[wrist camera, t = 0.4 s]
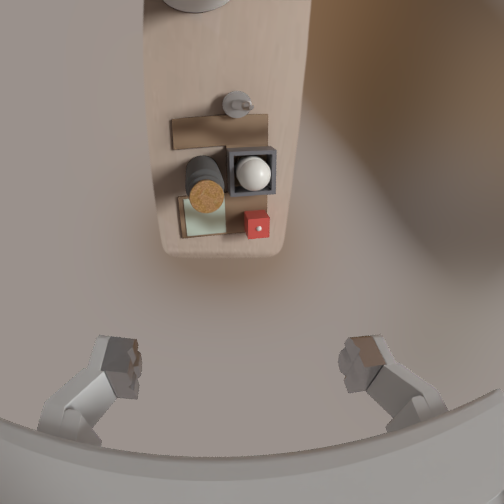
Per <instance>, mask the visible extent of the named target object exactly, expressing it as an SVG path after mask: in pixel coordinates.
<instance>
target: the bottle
mask: <svg viewBox="0 0 504 504" xmlns="http://www.w3.org/2000/svg"><path fill="white" fill-rule="evenodd" d="M185 186H186V193H187V195H188V197H189V200H190V203H191V205H192V207H193V208H194V209H195V210H196V211H198V212H201V213H212V212H214V211H216V210H217V209H219V208H220V206H221V205H222V203H223V200H224V181H223V178H222V175H221V173H220V170H219V168H218V166H217V164H216V162H215V161H214V160H213V159H212V158H210V157H208V156H197V157H195V158H193V159H192V160H191V161H190V162H189V164H188V165H187V168H186V185H185Z"/></svg>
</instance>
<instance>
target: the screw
mask: <svg viewBox="0 0 504 504" xmlns="http://www.w3.org/2000/svg"><path fill="white" fill-rule="evenodd" d="M253 107H254V105H252V104H251V100H250V98H249V96H248V95H247V94H246V93H244V92H241V91H233V92H230V93H229V94H227V95H226V96H225V98H224V100H223V110H224V112H225V113H226V114H227V115H228V116H230V117H232V118H241V117H244V116H245V115H247V114H248V112H249V111H250V110H252V109H253Z"/></svg>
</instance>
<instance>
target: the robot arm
mask: <svg viewBox="0 0 504 504" xmlns="http://www.w3.org/2000/svg"><path fill="white" fill-rule="evenodd" d="M163 1H164V2H165V3H166V4H168V5H169V6H171V7H173V8H175V9H177V10H180V11H184V12H194V13H196V12H206V11H210V10H214V9H216V8H219V7H221V6H223V5H224V4H226V3H227V2H229V1H230V0H163ZM338 363H339V369H340V371H341V373H343V374H344V375H345V379H344V383H345V385H346V388H347V391H348V393H353V392H360V391H366V392H367V393H368V394H369V395H370V396H371V397H372V398H373V399H374V400H375V401H376V402H377V403H378V404H379V405H380V406H381V407H382V408H383V409H384V410H386V411H387V412H388V413H389V414H390V415H391V416H392V417H393V419H392V420H391V421H390V422H389V423H388V424H387V426H386V430H387V433H384V434H381V435H377V436H374V437H370V438H366V439H361V440H357V441H353V442H348V443H344V444H339V445H334V446H328V447H323V448H317V449H311V450H304V451H297V452H289V453H281V454H271V455H257V456H241V457H187V456H169V455H157V454H146V453H137V452H130V451H123V450H116V449H111V448H105V447H101V443H102V440H101V439H100V438H99V436H98V435H97V434H96V433H95V432H94V430H93V429H92V428H93V427H94V425H95V424H96V423H97V422H98V421H99V419H100V418H101V417H102V416H103V415H104V413H105V412H106V411H107V410H108V409H109V407H110V406H111V405H112V404H113V403H114V402H115V400H116V399H117V398H126V399H138V392H139V382H138V378H139V377H140V376H141V372H142V358H141V353H140V352H139V351H138V342H137V339H130V338H121V337H112V336H103V335H99V336H98V337H97V338H96V342H95V344H94V347H93V351H92V354H91V357H90V360H89V364H88V367H87V369H86V368H83V369H82V370H81V371H80V372H79V373H78V374H76V375H75V376H74V377H73V378H72V379H71V380H69V381H68V382H67V383H66V384H65V385H64V386H63V387H61V388H60V389H59V390H58V391H57V392H56V393H55V394H53V395H52V396H51V397H50V398H49V399H48V400H47V401H45V403H44V406H43V410H42V413H41V417H40V420H39V424H38V427H37V431H36V430H33V429H30V428H27V427H24V426H21V425H18V424H16V423H13V422H10V421H8V420H5V419H3V418H0V504H504V391H503V390H501V389H496V390H493V391H491V392H489V393H487V394H485V395H483V396H481V397H479V398H477V399H475V400H473V401H471V402H469V403H466V404H464V405H462V406H460V407H458V408H455V409H453V410H450V411H448V410H447V407H446V405H445V403H444V401H443V399H442V397H441V395H440V393H439V391H438V390H437V389H436V388H435V387H434V386H432V385H431V384H429V383H428V382H426V381H425V380H424V379H422V378H421V377H419V376H418V375H417V374H415V373H414V372H412V371H411V370H409V369H408V368H407V367H405V366H404V365H402V364H401V363H397V362H396V361H395V359H394V357H393V355H392V353H391V351H390V349H389V347H388V345H387V343H386V342H385V340H384V338H383V336H382V335H370V336H359V337H350V338H348V339H347V340H346V342H345V348H344V349H343V350H341V352H340V354H339V359H338Z"/></svg>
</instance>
